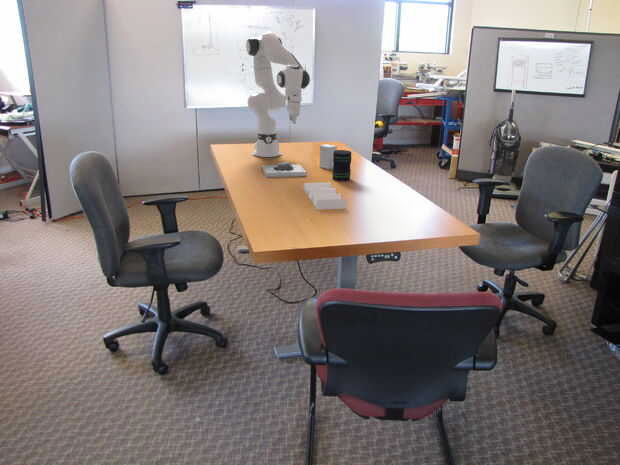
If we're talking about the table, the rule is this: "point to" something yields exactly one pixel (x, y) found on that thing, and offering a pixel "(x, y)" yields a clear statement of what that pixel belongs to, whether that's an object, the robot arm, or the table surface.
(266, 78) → the robot arm
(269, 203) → the table surface
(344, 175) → the dark ribbed barrel
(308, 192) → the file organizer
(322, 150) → the small box
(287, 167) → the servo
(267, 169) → the chassis
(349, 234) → the table surface
